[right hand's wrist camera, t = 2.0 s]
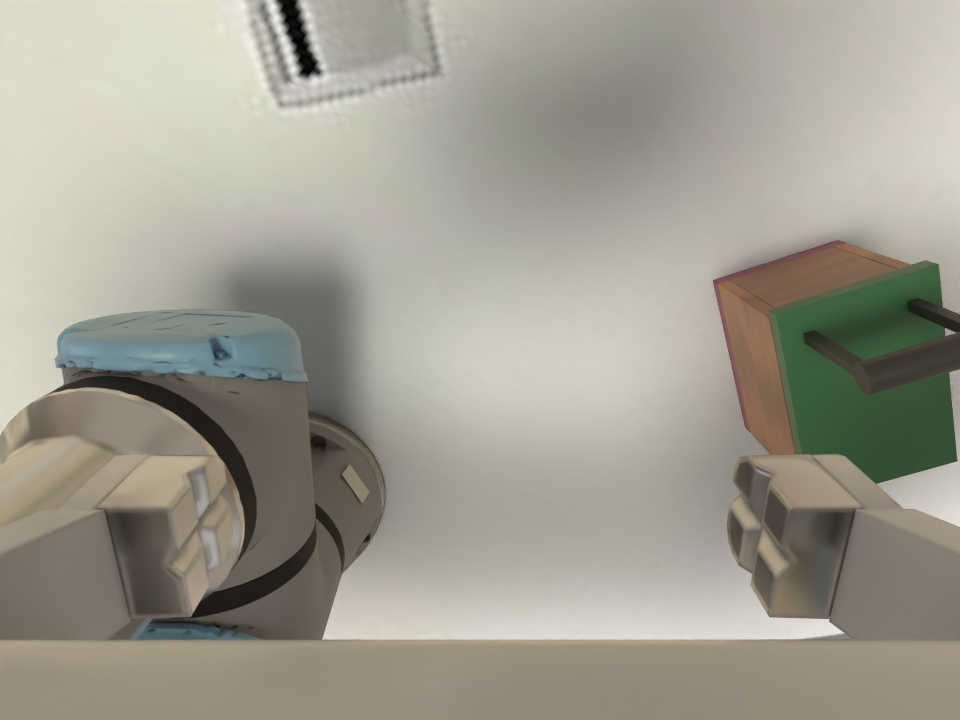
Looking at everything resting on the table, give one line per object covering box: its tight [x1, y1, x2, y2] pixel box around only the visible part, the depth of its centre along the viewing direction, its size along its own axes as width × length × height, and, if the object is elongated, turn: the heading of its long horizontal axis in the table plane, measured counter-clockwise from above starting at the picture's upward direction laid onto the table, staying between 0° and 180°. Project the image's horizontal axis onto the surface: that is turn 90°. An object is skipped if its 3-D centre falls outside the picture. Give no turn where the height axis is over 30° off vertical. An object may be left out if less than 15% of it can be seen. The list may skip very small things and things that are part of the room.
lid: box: [768, 261, 960, 484], centre depth 37 cm, size 14×10×9 cm
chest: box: [713, 240, 911, 455], centre depth 46 cm, size 13×10×10 cm
